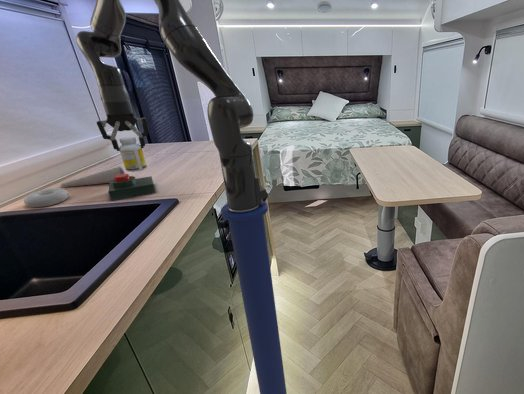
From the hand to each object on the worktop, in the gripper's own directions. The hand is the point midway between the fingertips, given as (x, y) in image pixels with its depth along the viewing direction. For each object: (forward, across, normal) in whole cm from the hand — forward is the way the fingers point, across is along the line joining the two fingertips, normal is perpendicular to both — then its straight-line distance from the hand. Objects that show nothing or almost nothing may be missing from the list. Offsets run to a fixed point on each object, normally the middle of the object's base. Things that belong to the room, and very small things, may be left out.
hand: (130, 149), depth 103 cm
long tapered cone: (+13, +14, -6) cm, 20 cm away
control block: (+13, +2, +11) cm, 17 cm away
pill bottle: (+8, 0, 0) cm, 8 cm away
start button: (+8, +4, +11) cm, 14 cm away
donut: (+13, +24, +6) cm, 28 cm away
